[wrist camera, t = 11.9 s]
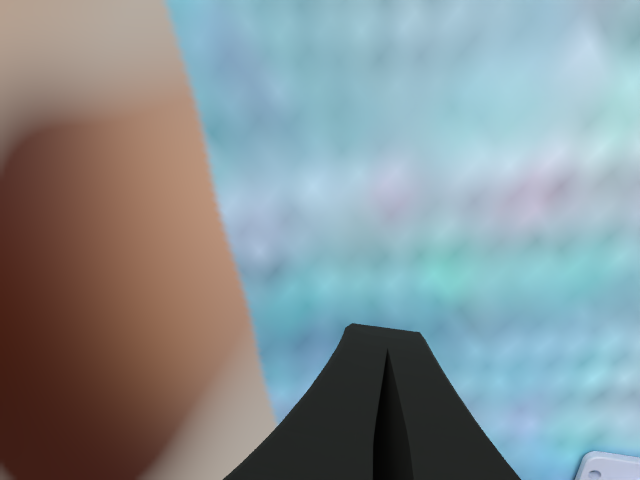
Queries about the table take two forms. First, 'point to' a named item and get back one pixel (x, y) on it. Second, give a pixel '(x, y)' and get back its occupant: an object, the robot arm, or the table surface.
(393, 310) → the table surface
